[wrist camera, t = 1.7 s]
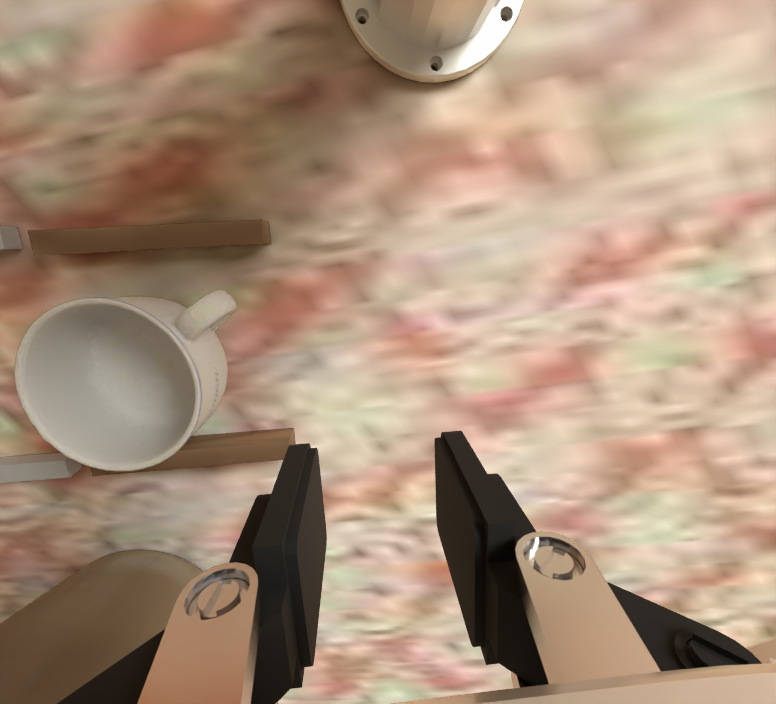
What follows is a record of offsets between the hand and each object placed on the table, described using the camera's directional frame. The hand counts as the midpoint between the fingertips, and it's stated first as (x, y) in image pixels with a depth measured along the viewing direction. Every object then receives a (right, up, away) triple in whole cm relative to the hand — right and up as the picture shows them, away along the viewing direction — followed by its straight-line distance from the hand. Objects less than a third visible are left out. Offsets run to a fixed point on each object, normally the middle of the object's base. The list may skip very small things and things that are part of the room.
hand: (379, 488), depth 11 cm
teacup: (-16, +4, +20) cm, 26 cm away
